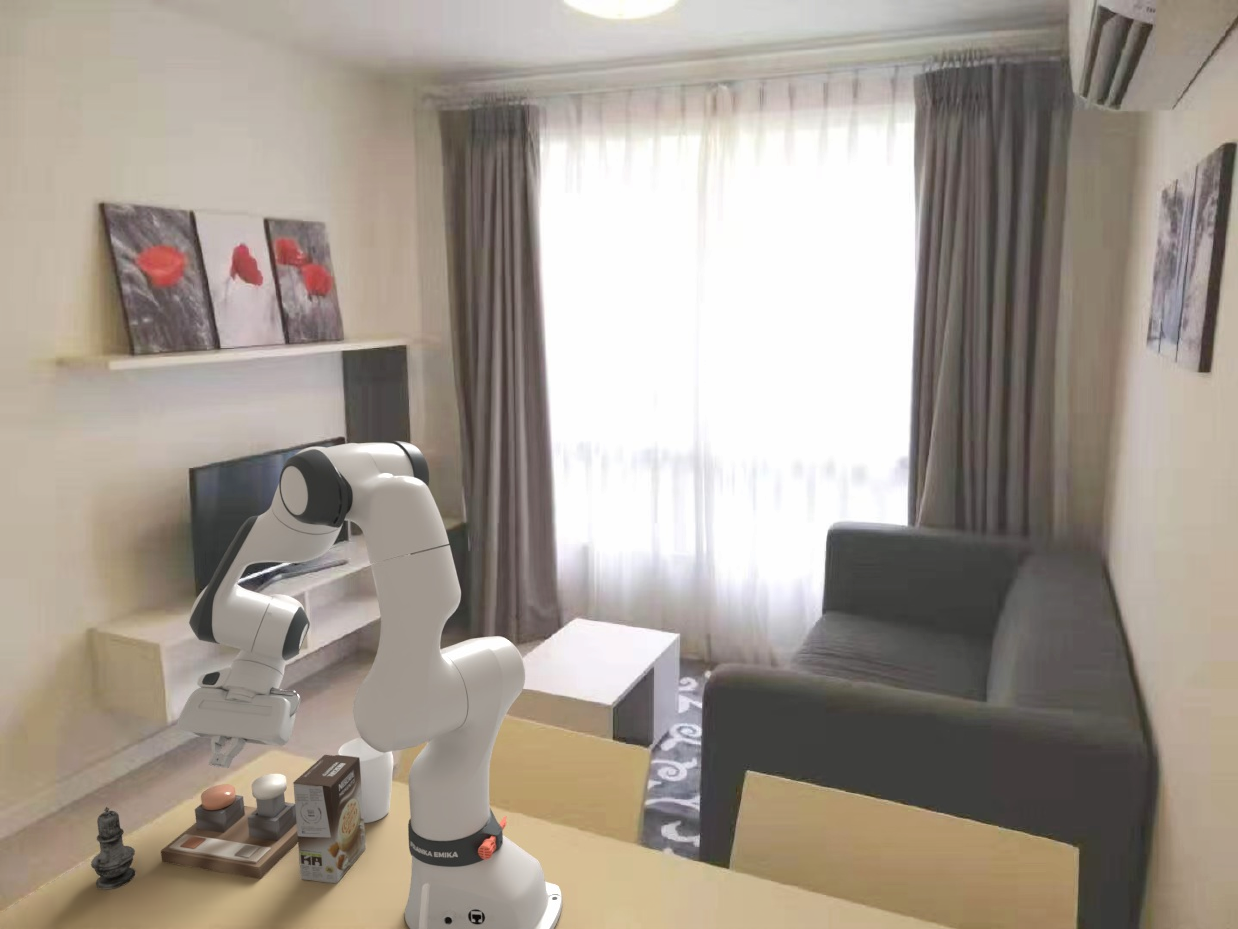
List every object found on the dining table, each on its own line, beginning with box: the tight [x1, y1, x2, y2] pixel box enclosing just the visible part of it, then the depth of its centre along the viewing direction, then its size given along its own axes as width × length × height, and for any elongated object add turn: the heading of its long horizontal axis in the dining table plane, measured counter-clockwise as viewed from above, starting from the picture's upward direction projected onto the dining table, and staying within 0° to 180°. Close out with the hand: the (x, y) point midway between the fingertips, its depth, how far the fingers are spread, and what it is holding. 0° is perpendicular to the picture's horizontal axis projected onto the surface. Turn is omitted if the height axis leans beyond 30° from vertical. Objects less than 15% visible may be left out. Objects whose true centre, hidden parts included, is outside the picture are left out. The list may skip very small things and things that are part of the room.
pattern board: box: [160, 794, 298, 880], centre depth 143 cm, size 18×14×6 cm
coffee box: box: [292, 754, 366, 884], centre depth 136 cm, size 9×6×16 cm
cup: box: [337, 736, 394, 824], centre depth 150 cm, size 9×9×12 cm
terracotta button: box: [200, 783, 237, 810], centre depth 145 cm, size 5×5×5 cm
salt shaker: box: [90, 806, 136, 891], centre depth 134 cm, size 6×6×12 cm
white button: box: [251, 773, 288, 818], centre depth 142 cm, size 5×5×5 cm
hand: (218, 766), depth 144 cm, fingers closed
